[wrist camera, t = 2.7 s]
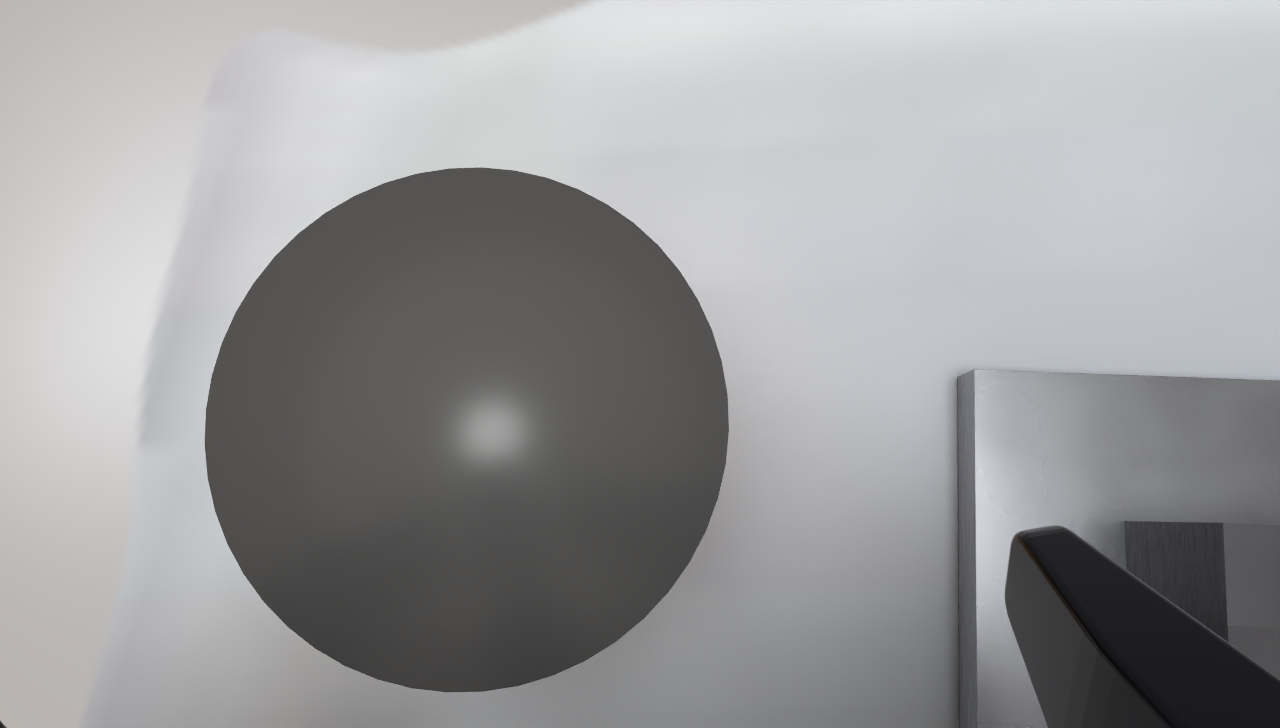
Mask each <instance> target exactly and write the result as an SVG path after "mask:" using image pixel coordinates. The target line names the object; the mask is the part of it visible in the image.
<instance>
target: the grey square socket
mask: <svg viewBox="0 0 1280 728" xmlns="http://www.w3.org/2000/svg"><path fill="white" fill-rule="evenodd" d="M958 515H959V685H960V728H1048V726H1047V724H1046V721H1045V718H1044V715H1043V712H1042V710H1041V707H1040V704H1039V701H1038V699H1037V696H1036V693H1035V690H1034V688H1033V685H1032V682H1031V679H1030V676H1029V674H1028V671H1027V668H1026V665H1025V663H1024V660H1023V657H1022V654H1021V652H1020V649H1019V646H1018V643H1017V640H1016V638H1015V635H1014V632H1013V629H1012V627H1011V624H1010V621H1009V618H1008V614H1007V610H1006V605H1005V585H1006V577H1007V569H1008V561H1009V554H1010V546H1011V542H1012V538H1013V537H1014V535H1015V534H1016V533H1017V532H1020V531H1023V530H1028V529H1034V528H1040V527H1046V526H1052V525H1059V526H1063V527H1065V528H1068V529H1069V530H1071V531H1073V532H1074V533H1075V534H1077V535H1078V536H1080V537H1081V538H1082V539H1084V540H1085V541H1087V542H1088V543H1089V544H1091V545H1092V546H1094V547H1095V548H1096V549H1098V550H1099V551H1101V552H1102V553H1103V554H1105V555H1106V556H1108V557H1109V558H1110V559H1112V560H1113V561H1115V562H1116V563H1118V564H1119V565H1120V566H1122V567H1123V568H1125V569H1126V570H1127V571H1129V572H1130V573H1132V574H1133V575H1134V576H1136V577H1137V578H1139V579H1140V580H1141V581H1143V582H1144V583H1146V584H1147V585H1148V586H1150V587H1151V588H1153V589H1154V590H1155V591H1157V592H1158V593H1160V594H1161V595H1162V596H1164V597H1165V598H1167V599H1168V600H1169V601H1171V602H1172V603H1174V604H1175V605H1177V606H1178V607H1179V608H1181V609H1182V610H1184V611H1185V612H1186V613H1188V614H1189V615H1191V616H1192V617H1193V618H1195V619H1196V620H1198V621H1199V622H1200V623H1202V624H1203V625H1205V626H1206V627H1207V628H1209V629H1210V630H1212V631H1213V632H1214V633H1216V634H1217V635H1219V636H1220V637H1221V638H1223V639H1224V640H1226V641H1227V642H1229V643H1230V644H1231V645H1233V646H1234V647H1236V648H1237V649H1238V650H1240V651H1241V652H1243V653H1244V654H1245V655H1247V656H1248V657H1250V658H1251V659H1252V660H1254V661H1255V662H1257V663H1258V664H1259V665H1261V666H1262V667H1264V668H1265V669H1266V670H1268V671H1269V672H1271V673H1272V674H1273V675H1275V676H1276V677H1278V678H1279V679H1280V381H1273V380H1246V379H1219V378H1192V377H1165V376H1138V375H1111V374H1084V373H1056V372H1029V371H1002V370H975V369H974V370H972V371H970V372H968V373H966V374H964V375H961V376H959V377H958Z"/></svg>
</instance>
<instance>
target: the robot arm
mask: <svg viewBox="0 0 1280 728" xmlns="http://www.w3.org/2000/svg"><path fill="white" fill-rule="evenodd" d="M1005 605H1006V610H1007V614H1008V618H1009V621H1010V624H1011V627H1012V629H1013V632H1014V635H1015V638H1016V640H1017V643H1018V646H1019V649H1020V652H1021V654H1022V657H1023V660H1024V663H1025V665H1026V668H1027V671H1028V674H1029V676H1030V679H1031V682H1032V685H1033V688H1034V690H1035V693H1036V696H1037V699H1038V701H1039V704H1040V707H1041V710H1042V712H1043V715H1044V718H1045V721H1046V724H1047V726H1048V728H1280V679H1279V678H1278V677H1276V676H1275V675H1273V674H1272V673H1271V672H1269V671H1268V670H1266V669H1265V668H1264V667H1262V666H1261V665H1259V664H1258V663H1257V662H1255V661H1254V660H1252V659H1251V658H1250V657H1248V656H1247V655H1245V654H1244V653H1243V652H1241V651H1240V650H1238V649H1237V648H1236V647H1234V646H1233V645H1231V644H1230V643H1229V642H1227V641H1226V640H1224V639H1223V638H1221V637H1220V636H1219V635H1217V634H1216V633H1214V632H1213V631H1212V630H1210V629H1209V628H1207V627H1206V626H1205V625H1203V624H1202V623H1200V622H1199V621H1198V620H1196V619H1195V618H1193V617H1192V616H1191V615H1189V614H1188V613H1186V612H1185V611H1184V610H1182V609H1181V608H1179V607H1178V606H1177V605H1175V604H1174V603H1172V602H1171V601H1169V600H1168V599H1167V598H1165V597H1164V596H1162V595H1161V594H1160V593H1158V592H1157V591H1155V590H1154V589H1153V588H1151V587H1150V586H1148V585H1147V584H1146V583H1144V582H1143V581H1141V580H1140V579H1139V578H1137V577H1136V576H1134V575H1133V574H1132V573H1130V572H1129V571H1127V570H1126V569H1125V568H1123V567H1122V566H1120V565H1119V564H1118V563H1116V562H1115V561H1113V560H1112V559H1110V558H1109V557H1108V556H1106V555H1105V554H1103V553H1102V552H1101V551H1099V550H1098V549H1096V548H1095V547H1094V546H1092V545H1091V544H1089V543H1088V542H1087V541H1085V540H1084V539H1082V538H1081V537H1080V536H1078V535H1077V534H1075V533H1074V532H1073V531H1071V530H1069V529H1068V528H1065V527H1063V526H1059V525H1052V526H1046V527H1040V528H1034V529H1028V530H1023V531H1020V532H1017V533H1016V534H1015V535H1014V537H1013V538H1012V542H1011V546H1010V554H1009V561H1008V569H1007V577H1006V585H1005ZM0 728H6V726H5V725H4V724H3V723H2V722H1V721H0Z"/></svg>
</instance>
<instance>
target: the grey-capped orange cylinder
mask: <svg viewBox="0 0 1280 728" xmlns="http://www.w3.org/2000/svg"><path fill="white" fill-rule="evenodd" d="M728 432H729V425H728V399H727V390H726V385H725V379H724V373H723V367H722V361H721V358H720V355H719V352H718V349H717V345H716V342H715V339H714V336H713V333H712V329H711V327H710V325H709V323H708V321H707V319H706V316H705V314H704V312H703V310H702V308H701V306H700V304H699V301H698V299H697V298H696V296H695V294H694V293H693V291H692V290H691V288H690V287H689V285H688V283H687V282H686V280H685V279H684V277H683V276H682V274H681V272H680V271H679V270H678V268H677V267H676V266H675V265H674V264H673V263H672V261H671V260H670V259H669V258H668V257H667V255H666V254H665V253H664V252H663V251H662V249H661V248H660V247H659V246H658V245H657V244H656V243H655V242H654V241H653V240H652V239H651V238H649V237H648V236H647V235H646V234H645V233H644V232H643V231H642V230H641V229H640V228H639V227H637V226H636V225H635V224H634V223H633V222H631V221H630V220H629V219H627V218H626V217H624V216H623V215H621V214H620V213H619V212H617V211H616V210H614V209H613V208H611V207H610V206H609V205H607V204H605V203H603V202H601V201H599V200H598V199H596V198H594V197H592V196H590V195H588V194H586V193H584V192H582V191H580V190H578V189H576V188H573V187H570V186H568V185H565V184H562V183H559V182H557V181H554V180H551V179H548V178H545V177H540V176H536V175H532V174H527V173H523V172H518V171H512V170H502V169H491V168H456V169H444V170H438V171H432V172H425V173H419V174H415V175H411V176H408V177H404V178H401V179H397V180H394V181H390V182H387V183H384V184H382V185H379V186H377V187H375V188H372V189H370V190H368V191H365V192H363V193H361V194H358V195H356V196H354V197H352V198H350V199H349V200H347V201H345V202H344V203H342V204H340V205H338V206H337V207H335V208H333V209H332V210H330V211H328V212H326V213H325V214H324V215H322V216H321V217H320V218H318V219H317V220H316V221H314V222H313V223H312V224H310V225H309V226H308V227H306V228H305V229H304V230H303V231H301V232H300V233H299V234H298V235H297V236H296V237H295V238H294V239H293V240H291V241H290V242H289V243H288V244H287V245H286V246H285V247H284V248H283V249H282V250H281V251H280V252H279V253H278V254H277V255H276V256H275V257H274V258H273V260H272V261H271V262H270V263H269V265H268V266H267V267H266V268H265V270H264V271H263V272H262V274H261V275H260V276H259V277H258V279H257V280H256V281H255V282H254V284H253V285H252V287H251V288H250V290H249V292H248V293H247V295H246V297H245V298H244V300H243V302H242V303H241V305H240V306H239V308H238V310H237V311H236V313H235V315H234V318H233V320H232V322H231V324H230V327H229V329H228V331H227V333H226V335H225V338H224V340H223V342H222V345H221V348H220V351H219V355H218V358H217V361H216V364H215V368H214V371H213V374H212V379H211V384H210V390H209V396H208V402H207V408H206V426H205V452H206V463H207V474H208V481H209V485H210V490H211V494H212V498H213V503H214V507H215V512H216V514H217V517H218V520H219V522H220V525H221V528H222V530H223V533H224V536H225V538H226V541H227V544H228V546H229V547H230V549H231V551H232V553H233V555H234V557H235V559H236V561H237V562H238V564H239V566H240V568H241V570H242V572H243V574H244V575H245V576H246V578H247V579H248V581H249V582H250V583H251V585H252V586H253V587H254V589H255V590H256V592H257V593H258V594H259V596H260V597H261V598H262V600H263V601H264V602H265V603H266V604H267V606H268V607H269V608H270V609H271V610H272V611H273V612H274V613H275V614H276V615H277V616H278V617H279V618H280V619H281V620H282V621H283V622H284V623H285V624H286V625H287V626H288V627H289V628H290V629H291V630H293V631H294V632H295V633H296V634H298V635H299V636H300V637H302V638H303V639H304V640H305V641H307V642H308V643H309V644H310V645H312V646H313V647H314V648H316V649H317V650H319V651H321V652H322V653H324V654H326V655H328V656H329V657H331V658H333V659H334V660H336V661H338V662H340V663H341V664H343V665H345V666H347V667H349V668H352V669H354V670H357V671H359V672H361V673H364V674H366V675H369V676H371V677H374V678H376V679H379V680H383V681H386V682H390V683H394V684H398V685H402V686H406V687H410V688H416V689H424V690H433V691H442V692H477V691H488V690H495V689H501V688H507V687H514V686H519V685H522V684H526V683H529V682H532V681H536V680H539V679H542V678H546V677H549V676H552V675H555V674H557V673H559V672H561V671H563V670H566V669H568V668H570V667H572V666H574V665H577V664H579V663H581V662H583V661H585V660H587V659H589V658H590V657H592V656H593V655H595V654H597V653H598V652H600V651H601V650H603V649H605V648H606V647H608V646H609V645H611V644H613V643H614V642H616V641H617V640H618V639H619V638H621V637H622V636H623V635H624V634H626V633H627V632H628V631H629V630H630V629H632V628H633V627H634V626H635V625H636V624H638V623H639V622H640V621H641V620H642V619H644V618H645V617H646V615H647V614H648V613H649V612H650V611H651V610H652V609H653V608H654V607H655V606H656V605H657V604H658V603H659V601H660V600H661V599H662V598H663V597H664V596H665V595H666V594H667V593H668V592H669V590H670V589H671V587H672V586H673V585H674V583H675V582H676V580H677V579H678V578H679V576H680V575H681V573H682V572H683V570H684V569H685V568H686V566H687V565H688V563H689V562H690V560H691V558H692V556H693V554H694V552H695V550H696V548H697V547H698V545H699V543H700V541H701V539H702V537H703V535H704V533H705V531H706V529H707V526H708V523H709V520H710V518H711V515H712V512H713V510H714V507H715V504H716V502H717V499H718V495H719V490H720V486H721V482H722V477H723V473H724V468H725V464H726V453H727V442H728Z"/></svg>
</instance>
